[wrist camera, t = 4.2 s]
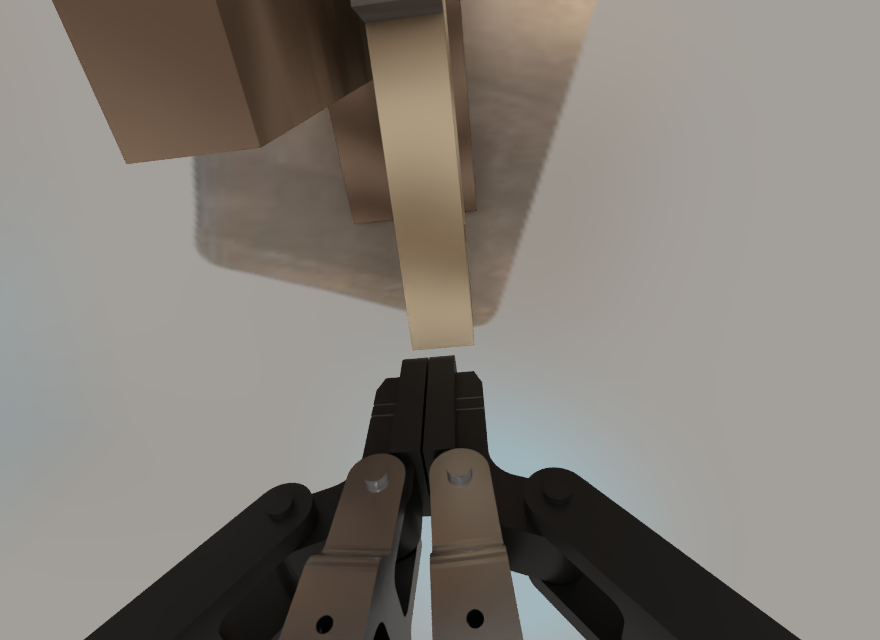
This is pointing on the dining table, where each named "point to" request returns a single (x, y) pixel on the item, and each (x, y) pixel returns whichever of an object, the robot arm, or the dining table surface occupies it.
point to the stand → (246, 81)
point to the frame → (422, 164)
